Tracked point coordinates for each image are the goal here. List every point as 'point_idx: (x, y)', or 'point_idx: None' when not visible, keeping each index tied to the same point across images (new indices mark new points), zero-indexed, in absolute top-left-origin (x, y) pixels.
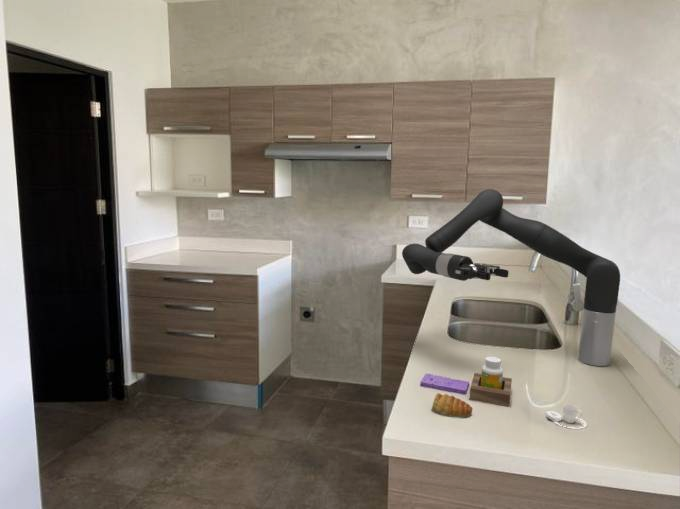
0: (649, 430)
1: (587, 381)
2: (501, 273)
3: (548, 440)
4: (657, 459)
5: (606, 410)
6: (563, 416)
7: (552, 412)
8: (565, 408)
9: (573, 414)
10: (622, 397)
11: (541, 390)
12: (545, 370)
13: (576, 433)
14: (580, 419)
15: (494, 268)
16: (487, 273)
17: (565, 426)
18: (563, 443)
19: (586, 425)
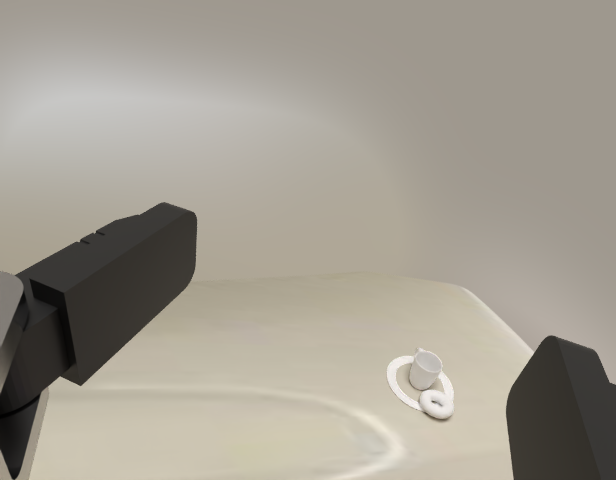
0: (351, 287)
1: (151, 348)
2: (146, 288)
3: None
4: (436, 292)
5: (314, 327)
6: (430, 385)
7: (433, 404)
8: (441, 369)
9: (432, 362)
10: (226, 300)
11: (284, 446)
12: (85, 451)
13: (457, 371)
14: (395, 364)
15: (16, 327)
16: (590, 370)
17: (449, 386)
18: None
19: (413, 356)
